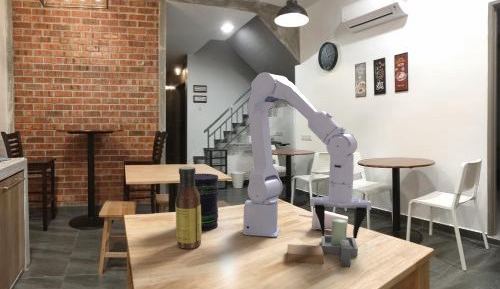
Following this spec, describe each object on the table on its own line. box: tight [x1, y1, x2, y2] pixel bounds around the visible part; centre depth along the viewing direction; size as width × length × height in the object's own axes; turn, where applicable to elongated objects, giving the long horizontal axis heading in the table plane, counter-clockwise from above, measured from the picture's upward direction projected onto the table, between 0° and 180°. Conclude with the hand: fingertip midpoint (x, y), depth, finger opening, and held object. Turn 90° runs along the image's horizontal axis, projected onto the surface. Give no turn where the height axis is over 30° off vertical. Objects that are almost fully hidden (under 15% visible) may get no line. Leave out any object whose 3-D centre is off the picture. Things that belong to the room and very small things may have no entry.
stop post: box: [339, 239, 352, 268], centre depth 83 cm, size 2×6×4 cm, turn 169°
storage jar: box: [195, 173, 219, 232], centre depth 107 cm, size 10×10×15 cm
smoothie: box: [298, 207, 349, 231], centre depth 106 cm, size 6×6×14 cm
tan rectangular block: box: [287, 243, 325, 265], centre depth 85 cm, size 8×6×2 cm
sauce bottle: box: [174, 166, 202, 250], centre depth 91 cm, size 6×6×20 cm
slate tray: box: [320, 234, 359, 257], centre depth 91 cm, size 8×8×2 cm
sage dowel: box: [331, 219, 348, 246], centre depth 91 cm, size 4×4×6 cm
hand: (338, 235), depth 91 cm, fingers open, 7 cm apart
